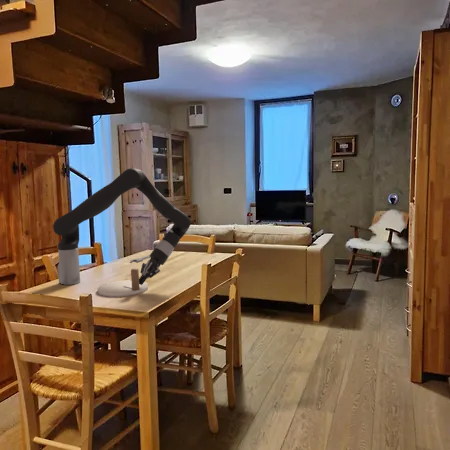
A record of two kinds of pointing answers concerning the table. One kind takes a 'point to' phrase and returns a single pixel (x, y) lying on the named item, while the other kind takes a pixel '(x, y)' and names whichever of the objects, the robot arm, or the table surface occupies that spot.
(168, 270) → the table surface
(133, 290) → the dial
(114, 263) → the table surface
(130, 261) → the adjustable wrench
